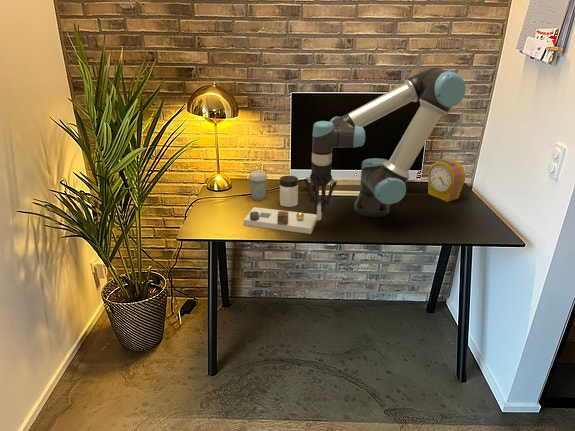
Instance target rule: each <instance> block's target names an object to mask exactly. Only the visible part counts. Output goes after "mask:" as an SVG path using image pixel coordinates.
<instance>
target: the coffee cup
mask: <svg viewBox="0 0 575 431" xmlns="http://www.w3.org/2000/svg"><path fill="white" fill-rule="evenodd" d="M248 179H249V185H250V186H249V187H250V193H251V199H252V200H253V201H264V200H265V198H266V197H265V196H266V192H267V191H266V190H267V188H266V187H267V181H268V174H267V173H266V172H265V171H262V170H254V171H252V172H250V173H249V176H248Z"/></svg>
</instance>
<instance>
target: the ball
mask: <svg viewBox="0 0 575 431" xmlns="http://www.w3.org/2000/svg"><path fill="white" fill-rule="evenodd" d="M303 213H304V212H301V211H299V212H298V213H297V215H296V218H297V219H298V220H302V219H303V218H304V214H303Z"/></svg>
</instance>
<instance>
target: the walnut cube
mask: <svg viewBox="0 0 575 431" xmlns="http://www.w3.org/2000/svg"><path fill="white" fill-rule="evenodd" d="M286 211H287V210H282V211H278V215H277V224H278V225H288V212H286Z"/></svg>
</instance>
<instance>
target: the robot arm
mask: <svg viewBox="0 0 575 431" xmlns="http://www.w3.org/2000/svg"><path fill="white" fill-rule="evenodd" d="M466 86H467V85H466V82H465V80H464V78H463V77H462V76H461V75H460V74H458V73H456V72H455V71H452V70H447V69H443V68H441V67H429V68H427V69H424V70H422V71H420V72H418V73H416V74H414V75H412V76H410V77H408V78H406V79H404V82H403V84H401V85H398V86H397V87H395V88H394V89H392V90H389V91H388V92H386V93H384V94H383V95H380V96H378V97H376V98H375V99H372V100H371V101H369V102H366V104H364V105H361V106H360V107H358V108H356V109H354V110H352V111H350V112H349V113H346V114H345V115H342V116H334V117H332V118H331V119H330V120H329V121H327V120H320V121H316V122H314V124H313V127H312V144H311V145H312V150H311V151H312V152H311V172H310V173H311V174H310V175H309V176H308V177H305V179H304V180H303V182H304V184H305V185H306V188H307V194H308V198H309V202H310V203H311V204H314V212H316V215H317V221H321V219H322V216H323V215H322V214H323V213H324V212H325V208H326V206H325V205H329V203H330V201H331V197H332V194H333V192H334V188H335V187H336V186H337V184H338V180H335V179H334V178H333V176H332V160H333V158H332V157H333V148H335V149H337V148H338V149H339V148H358V147H363V146H364V144H365V142H366V130H365V129H364V127H366V126H367V125H369V124H371V123H374V122H376V121H377V120H379V119H380V118H382V117H385V116H387V115H389V114H390V113H392V112H394V111H396V110H398V109H400V108H401V107H404V106H406V105H408V104H409V103H411V102H414V103H417V102H419V103H420V106H419V107H418V109H417V111H416V113H415V114H414V116H413V117H412V119H411V121H410V123H409V125H408V126H407V128H406V130H405V132H404V134H403V135H402V136H401V139H400V140H399V141H398V144H397V146H396V147H395V149H394V151H393V153H392V155H391V156H390V158H389V159H386V158H377V157H376V158H366V159H364V160H363V161H362V162H361V163H362V164H361V167H360V168H361V169H360V182H359V184H360V185H359V194H358V196H357V198H356V199H355V202H354V205H353V206H354V208H353V209H354V211H355V212H356V213H357V214H359V215H361V216H364V217H370V218H380V217H384V216H386V215H388V214H389V213H390V205H394V204H397V203H399V202H400V201H401V200H402V199H404V197H405V195H406V193H407V186H406V184H407V181H408V180H409V178H410V175H409V170H410V169H411V167H412V166H413V164H414V162H415V161H416V158H418V156H419V154H420V152H421V151H422V148H423V147H424V146H425V144H426V142H427V140H428V138H429V137H430V135H431V133H432V132H433V130H434V128H435V127H436V125H437V123H438V122H439V120H440V119H441V117H442V116H443V115H447V114H448V113H449V111H450V110H451V108H453V107H454V106H457V105H459V104H460V103H461V102H462V101H463V99H464V97H465V94H466V90H467V87H466ZM312 183H313V184H314V190H313V187H312ZM329 183H330V185H331V186H330V188H329V191H328V194H327V197H326V189H327V186H328V184H329ZM320 188H321V194H320ZM320 195H321V199H320ZM319 201H320V202H319Z"/></svg>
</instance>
